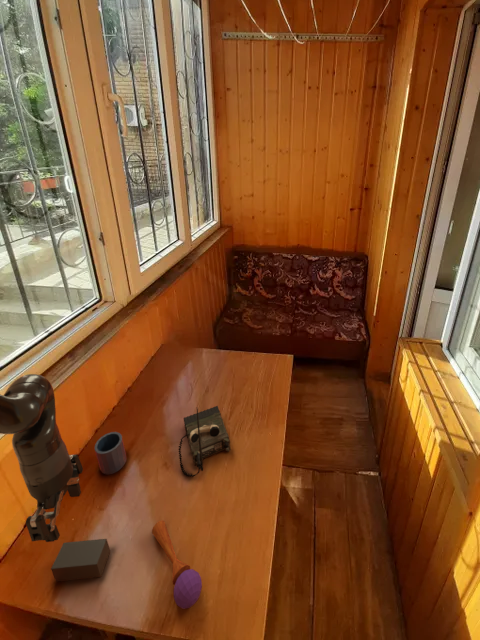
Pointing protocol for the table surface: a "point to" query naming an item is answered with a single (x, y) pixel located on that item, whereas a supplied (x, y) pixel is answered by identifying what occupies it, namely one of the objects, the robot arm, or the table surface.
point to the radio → (205, 436)
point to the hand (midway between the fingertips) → (65, 515)
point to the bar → (81, 560)
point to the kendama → (179, 571)
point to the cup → (110, 453)
